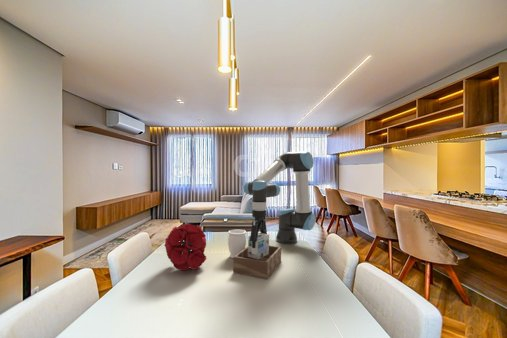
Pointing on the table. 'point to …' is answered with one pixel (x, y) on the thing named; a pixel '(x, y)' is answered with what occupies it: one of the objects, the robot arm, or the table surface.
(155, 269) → the table surface
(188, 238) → the bouquet
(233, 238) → the jar
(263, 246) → the light bulb box
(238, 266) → the walnut crate
